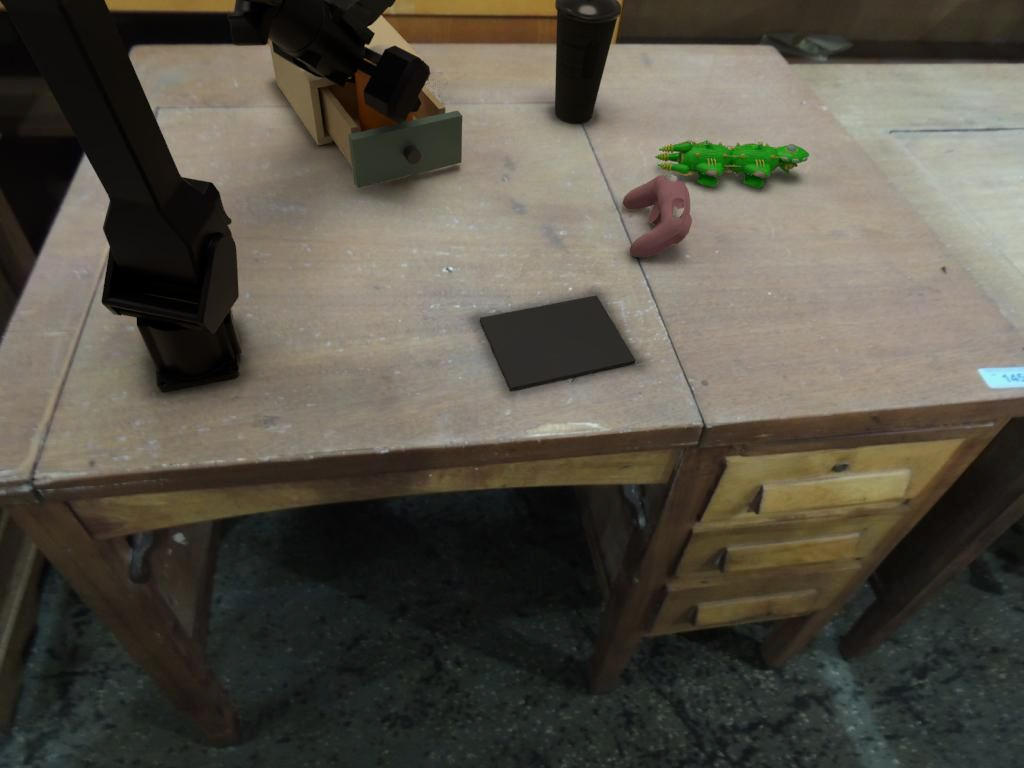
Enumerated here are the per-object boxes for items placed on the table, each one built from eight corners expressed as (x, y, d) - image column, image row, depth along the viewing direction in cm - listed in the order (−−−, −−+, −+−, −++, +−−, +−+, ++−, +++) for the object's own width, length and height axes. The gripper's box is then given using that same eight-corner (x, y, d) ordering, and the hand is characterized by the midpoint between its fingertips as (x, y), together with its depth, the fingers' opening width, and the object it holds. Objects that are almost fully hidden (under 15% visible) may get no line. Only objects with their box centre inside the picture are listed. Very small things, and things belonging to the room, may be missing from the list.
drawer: (466, 168, 84) (467, 120, 80) (361, 194, 80) (356, 145, 75) (409, 102, 93) (407, 56, 88) (312, 123, 88) (305, 75, 84)
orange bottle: (367, 154, 83) (358, 66, 75) (356, 126, 86) (347, 40, 79) (419, 147, 84) (416, 61, 77) (406, 120, 88) (402, 35, 80)
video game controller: (661, 274, 78) (706, 227, 73) (626, 256, 76) (669, 207, 72) (650, 217, 85) (691, 171, 80) (618, 199, 83) (658, 151, 78)
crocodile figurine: (808, 192, 87) (822, 159, 84) (658, 188, 86) (666, 155, 82) (791, 160, 92) (803, 128, 88) (648, 156, 90) (655, 124, 87)
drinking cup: (613, 111, 96) (643, -58, 81) (585, 136, 92) (612, -38, 77) (562, 93, 99) (583, -75, 84) (532, 116, 94) (548, -57, 79)
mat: (510, 391, 64) (510, 388, 64) (479, 320, 70) (479, 317, 69) (635, 363, 67) (636, 360, 67) (596, 298, 73) (596, 294, 72)
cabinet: (425, 121, 92) (424, 60, 86) (318, 145, 87) (308, 81, 81) (376, 65, 101) (372, 5, 95) (276, 83, 96) (265, 22, 90)
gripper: (411, -30, 63) (492, 57, 78) (275, -90, 71) (371, -1, 85) (350, 89, 65) (440, 152, 79) (223, 18, 73) (326, 87, 87)
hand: (394, 93), depth 83 cm, fingers open, 7 cm apart
